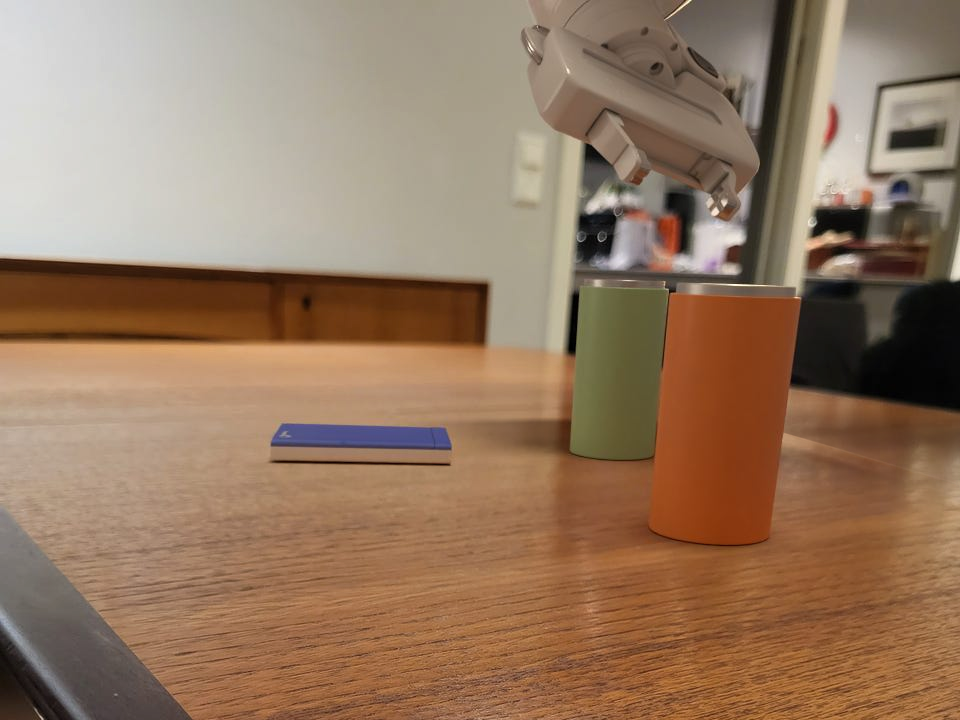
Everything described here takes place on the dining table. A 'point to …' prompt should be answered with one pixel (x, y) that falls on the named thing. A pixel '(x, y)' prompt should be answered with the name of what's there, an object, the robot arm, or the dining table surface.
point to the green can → (618, 368)
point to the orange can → (722, 411)
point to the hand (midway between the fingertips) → (684, 194)
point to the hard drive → (360, 444)
